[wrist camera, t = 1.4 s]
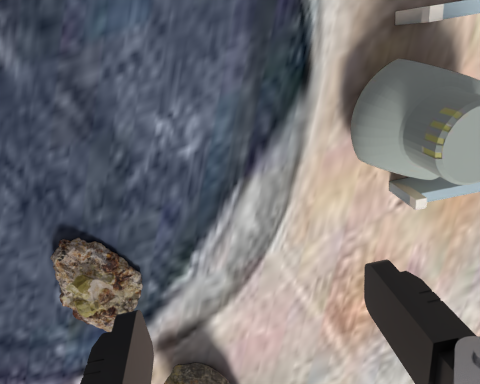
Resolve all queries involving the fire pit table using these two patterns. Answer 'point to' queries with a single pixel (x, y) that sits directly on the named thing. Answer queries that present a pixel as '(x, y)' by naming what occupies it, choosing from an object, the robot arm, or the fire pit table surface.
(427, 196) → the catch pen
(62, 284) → the mineral rock
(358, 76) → the fire pit table surface
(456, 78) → the air freshener
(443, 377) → the robot arm
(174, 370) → the rock
